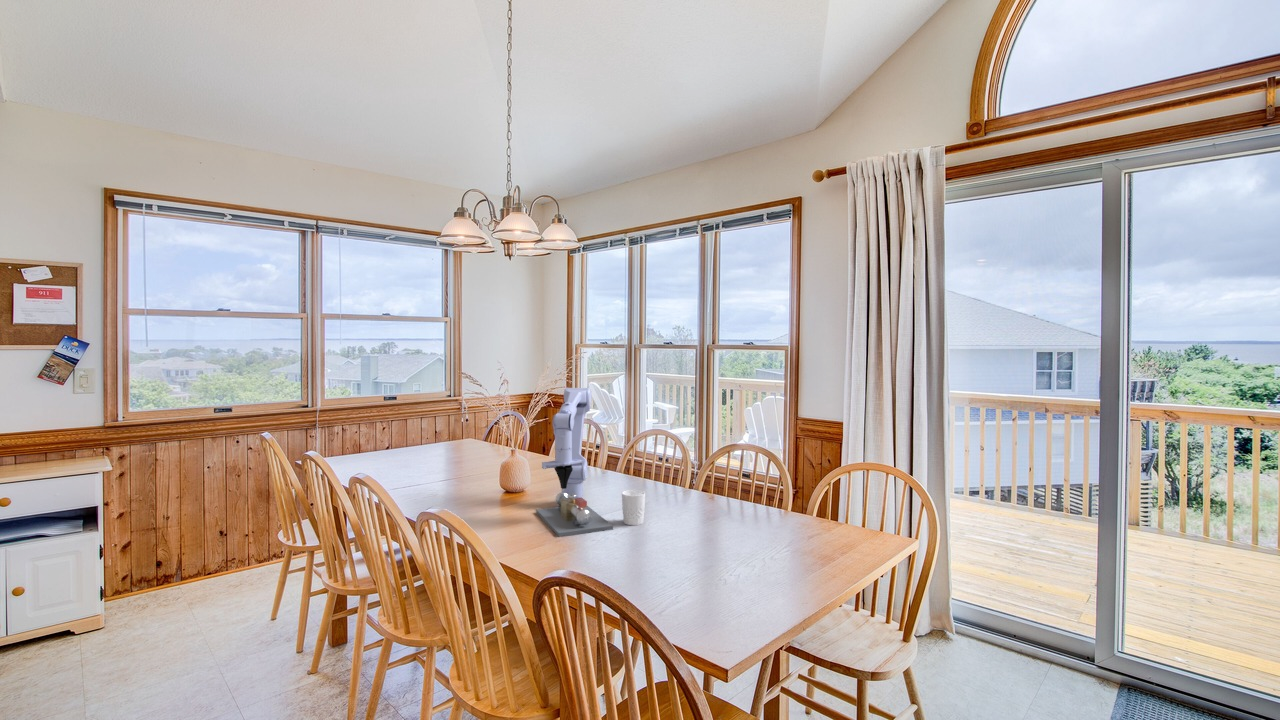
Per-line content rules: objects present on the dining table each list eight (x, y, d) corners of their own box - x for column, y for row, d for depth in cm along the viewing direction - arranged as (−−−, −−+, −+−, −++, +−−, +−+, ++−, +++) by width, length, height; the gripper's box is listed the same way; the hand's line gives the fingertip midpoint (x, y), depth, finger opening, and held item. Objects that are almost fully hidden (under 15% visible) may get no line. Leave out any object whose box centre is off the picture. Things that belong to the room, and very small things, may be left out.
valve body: (553, 508, 204) (553, 492, 204) (570, 506, 207) (570, 490, 207) (574, 529, 182) (574, 510, 182) (594, 526, 185) (594, 507, 184)
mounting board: (536, 512, 204) (536, 509, 204) (584, 506, 211) (584, 503, 211) (558, 537, 178) (558, 533, 178) (612, 529, 186) (612, 525, 185)
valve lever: (567, 498, 195) (567, 493, 195) (575, 497, 196) (575, 492, 196) (579, 507, 184) (579, 502, 184) (587, 506, 185) (587, 501, 185)
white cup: (645, 526, 189) (645, 495, 189) (621, 526, 189) (621, 495, 189) (645, 519, 197) (645, 489, 196) (622, 518, 197) (622, 489, 197)
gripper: (545, 452, 190) (545, 492, 190) (587, 448, 196) (587, 488, 196) (540, 448, 197) (540, 488, 197) (580, 445, 202) (580, 483, 203)
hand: (563, 488), depth 197 cm, fingers closed
